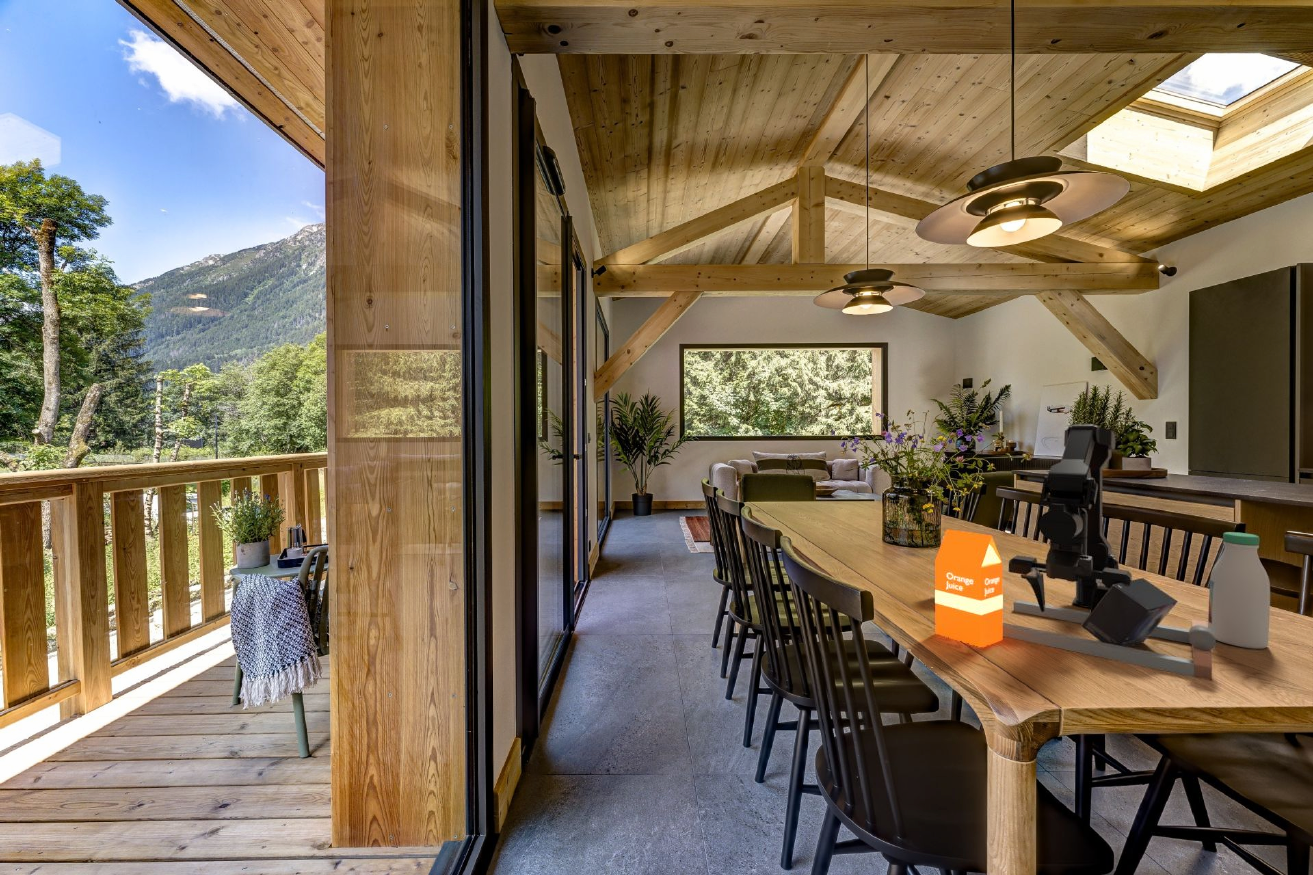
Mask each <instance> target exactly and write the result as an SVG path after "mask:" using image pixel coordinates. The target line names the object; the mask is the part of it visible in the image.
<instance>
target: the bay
mask: <svg viewBox="0 0 1313 875" xmlns="http://www.w3.org/2000/svg"><path fill="white" fill-rule="evenodd" d="M1013 612H1016V613H1022V614H1028V615H1033V616H1037V617H1038V616H1039V617H1042V618H1043V617H1045V618H1049V619H1056V620H1061V621H1066V622H1072V623H1078V624H1082V623H1083V622H1084V621H1085V620H1086V619H1087V618H1088V616H1089V615H1090V611H1082V610H1077V609H1072V608H1066V607H1059V606H1053V605H1046V604H1045V611H1044V612H1041V609H1040V607H1039V604H1038V602H1037V603H1035V602H1031V601H1029V602H1028V601H1024V600H1018V599H1015V600H1014V601H1013ZM1004 637H1005V638H1010V639H1014V640H1019V641H1023V642H1028V643H1033V644H1038V645H1043V646H1047V647H1052V648H1055V649H1056V648H1057V649H1060V650H1067V651H1071V652H1076V653H1081V654H1085V655H1089V656H1095V657H1097V658H1099V657H1100V658H1103V659H1109V660H1113V661H1118V662H1123V663H1128V664H1132V665H1137V666H1141V667H1146V668H1151V669H1154V670H1155V669H1156V670H1161V671H1165V672H1171V673H1173V674H1174V673H1175V674H1178V675H1179V674H1180V675H1184V676H1189V677H1192V678H1193V677H1194V678H1198V679H1202V678H1203V680H1208V681H1212V680H1213V679H1212V677H1213V675H1212V674H1213V672H1212V670H1213V667H1212V664H1213V663H1212V662H1213V658H1212V656H1213V655H1212V650H1213V649H1215V647H1216V645H1217V643H1216V640H1215V636H1214V633H1213V632H1212V630H1211V629H1209V628H1208V621H1204V620H1198V619H1191V627H1190V628H1189V629H1188V628H1182V627H1176V626H1170V625H1164V624H1160V623H1159V624H1158V626H1157V627H1156V628H1155V629H1154V630H1153V631H1152V633H1151V634H1150V635H1149V636H1148V637H1154V638H1158V639H1164V640H1168V641H1169V640H1171V641H1175V642H1176V641H1177V642H1182V643H1186V644H1190V645H1191V649H1192V650H1191V651H1192V654H1191V655H1192V659H1188V658H1184V657H1180V656H1179V657H1178V656H1172V655H1169V654H1163V653H1157V652H1152V651H1148V650H1142V649H1138V648H1137V649H1136V648H1132V647H1123V646H1118V645H1113V644H1108V643H1103V642H1101V641H1099V640H1098V641H1097V640H1092V639H1087V638H1082V637H1077V636H1072V635H1065V634H1061V633H1057V632H1052V631H1046V630H1042V629H1036V628H1031V627H1028V626H1027V627H1026V626H1021V625H1015V624H1010V623H1007V622H1003V638H1004Z"/></svg>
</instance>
